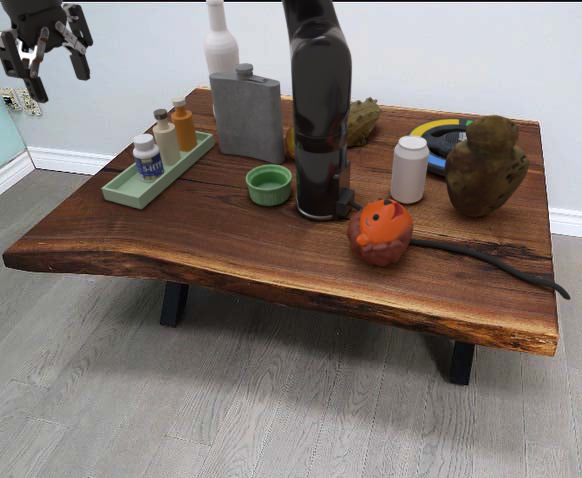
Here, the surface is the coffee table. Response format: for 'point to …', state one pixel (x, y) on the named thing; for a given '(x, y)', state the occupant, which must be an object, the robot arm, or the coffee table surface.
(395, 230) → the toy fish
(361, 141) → the seashell
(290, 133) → the fruit
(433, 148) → the electronic game
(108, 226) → the coffee table surface
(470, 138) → the sculpture
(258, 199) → the ramekin
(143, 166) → the pill bottle
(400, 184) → the beverage can
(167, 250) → the coffee table surface
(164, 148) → the cream bottle
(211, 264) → the coffee table surface
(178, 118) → the amber bottle
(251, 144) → the hip flask
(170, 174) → the tray
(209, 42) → the bottle
